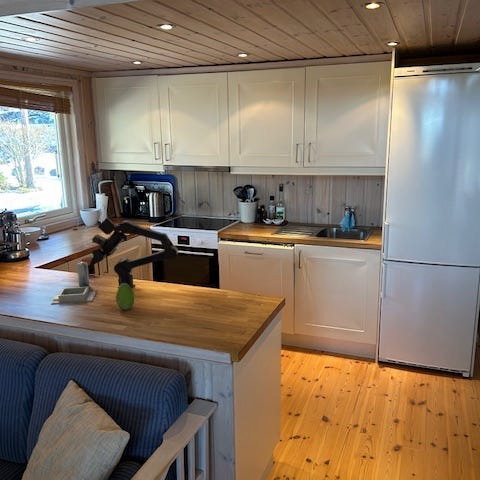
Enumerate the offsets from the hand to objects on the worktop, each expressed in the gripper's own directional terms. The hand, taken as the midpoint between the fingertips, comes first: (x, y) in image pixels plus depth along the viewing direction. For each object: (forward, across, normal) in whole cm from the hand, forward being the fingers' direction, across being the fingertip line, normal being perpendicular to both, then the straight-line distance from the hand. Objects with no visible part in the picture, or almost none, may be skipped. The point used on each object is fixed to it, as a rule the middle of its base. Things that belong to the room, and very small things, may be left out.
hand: (94, 262), depth 240 cm
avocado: (-9, +30, +28) cm, 42 cm away
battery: (+19, -24, -1) cm, 31 cm away
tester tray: (+12, +17, +6) cm, 22 cm away
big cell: (+14, 0, +5) cm, 14 cm away
